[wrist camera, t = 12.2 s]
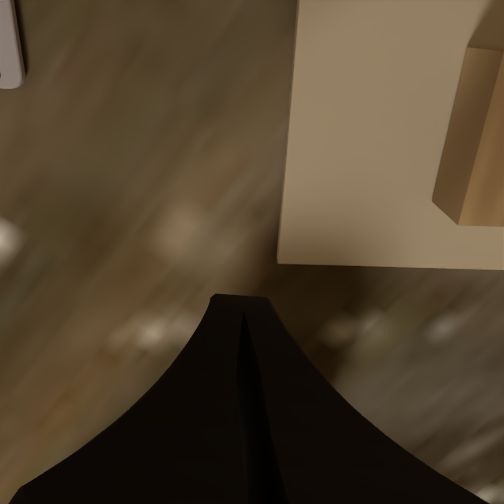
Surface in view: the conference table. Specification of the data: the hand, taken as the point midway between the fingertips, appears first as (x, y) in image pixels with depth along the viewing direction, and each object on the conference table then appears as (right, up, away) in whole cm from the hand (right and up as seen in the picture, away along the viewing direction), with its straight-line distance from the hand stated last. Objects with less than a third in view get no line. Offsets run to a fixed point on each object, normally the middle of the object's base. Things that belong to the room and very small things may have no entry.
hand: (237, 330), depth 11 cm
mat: (+9, +7, +8) cm, 14 cm away
